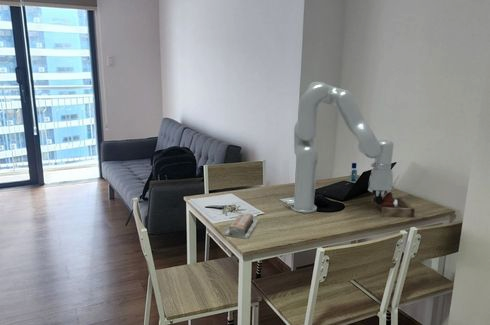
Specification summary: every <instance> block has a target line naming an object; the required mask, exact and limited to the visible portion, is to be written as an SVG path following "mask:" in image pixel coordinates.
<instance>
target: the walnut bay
mask: <svg viewBox="0 0 490 325" xmlns="http://www.w3.org/2000/svg"><path fill="white" fill-rule="evenodd" d="M383 197H384V196H382V199H383ZM393 198H394V200H395V199H396V200H397V201H398V206H397V207H396V208H389V207H382V211H381V214H380V216H381V217H387V218H388V217H389V218H412V219H413V218H414V215H415V208H414V207H412V205H411V204H409V203H408V202H407V201H406V200H405V199H404V198H402V197H398V196H397V197H396V196H395V197H394V196H393ZM371 206H379V204H376V202H375V196H372V197H371Z"/></svg>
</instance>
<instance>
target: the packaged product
mask: <svg viewBox="0 0 490 325" xmlns="http://www.w3.org/2000/svg"><path fill="white" fill-rule="evenodd" d="M258 224H259V220H258V219H254V215H253V214H252V213H250V212H249V213H241V214H238V215H237V216H236V217H235V219H234V220H233V221H232V223H231V224H230V225H229V226H228V229H227V230H226V231H225V233H224V237H229V238H238V239H244V240H248V239H249V238H250V236H251V235H252V234H253V232H254V231H255V230H256V228H257V225H258Z"/></svg>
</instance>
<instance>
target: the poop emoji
mask: <svg viewBox="0 0 490 325" xmlns="http://www.w3.org/2000/svg"><path fill="white" fill-rule="evenodd" d="M382 197H383V199H382V202H381V204H379V205H378V210H379V211H381V212H382V207H389V208H398V207H399V206H398V201H397V200H396V199H395V200H394V198H393V197H394V196H393V193H392V191H391V192H389V193H386V194H384V196H382Z"/></svg>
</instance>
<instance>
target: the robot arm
mask: <svg viewBox="0 0 490 325" xmlns="http://www.w3.org/2000/svg"><path fill="white" fill-rule="evenodd" d="M321 103H323V104H328V105H331V106H335V108H336V109H337V111H338V113H339V114H340V116H341V118H342V120H343V123H344V124H345V126H346V128H347V129H348V130H349V131H350V132H351V133H352V134H353V136H354V137H355V138H356V139H357V141H358V144H357V147H358V151H359V152H360V153H361V154H363V155H364V156H365V157H366V158H368V159H374V161H373V163H371V164H370V166H371V167H372V169H371V172H370V176H369V179H368V188H367V191H369V192H371V193H373V194H374V197H375V202H376V204H381V202H382V197H384V196H385V195H386V194H387V193H389V192H391V193H392V190H393V184H394V183H393V180H394V179H393V176H394V175H393V169H391V168H392V162H393V159H392V158H393V153H394V142H393V141H392V140H387V139H380V140H379V139H378V138H377V137H376V135H375V133H374V131H373V129H372V127H371V126H370V125H369V123H368V121H367V120H366V118H365V117H364V116H363V113H362V111H361V110H360V108H359V105H358V103H357V102H356V100H355V98H354V96H353V94H352V93H351V91H349V90H347V89H344V88H340V87H336V86H333V85H329V84H326V83H325V82H322V81H312V82H311V83H310V84H308V87H307V90H306V91H305V92H304V93H303V94H302V96H301V97H300V100H299V103H298V112H297V114H298V117H297V122H296V123H295V125H294V128H293V143H294V144H293V149H294V150H293V151H294V154H295V156H296V166H295V175H294V176H295V178H294V194H293V197H292V198H291V199H287V198H285V199H284V200H283V202H284V204H287V205H290V209H291V210H292V211H295V212H297V213H298V212H299V213H303V214H304V213H305V214H307V213H314V212H316V211H317V209H318V207H317V205H315V194H316V180H317V167H318V162H319V152H318V150H317V148H316V146H315V145H314V143H315V141H314V140H315V139H316V137H317V134H318V110H319V106H320V104H321Z"/></svg>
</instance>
